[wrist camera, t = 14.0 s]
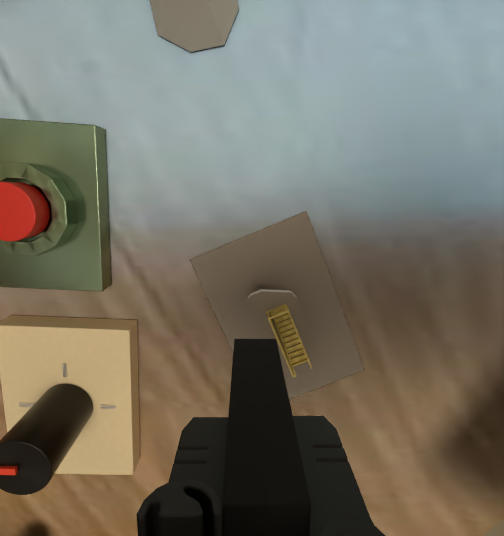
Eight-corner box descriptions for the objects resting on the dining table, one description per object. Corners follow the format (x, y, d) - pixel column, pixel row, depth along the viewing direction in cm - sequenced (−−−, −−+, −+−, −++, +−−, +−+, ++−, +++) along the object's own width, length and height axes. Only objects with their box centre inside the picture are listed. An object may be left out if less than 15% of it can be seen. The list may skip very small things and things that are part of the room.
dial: (92, 384, 32) (47, 445, 24) (94, 427, 33) (51, 499, 25) (39, 382, 32) (-23, 443, 24) (44, 426, 33) (-15, 498, 25)
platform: (306, 210, 31) (323, 216, 25) (365, 369, 36) (392, 409, 29) (189, 259, 32) (177, 277, 26) (260, 410, 36) (265, 457, 30)
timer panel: (140, 456, 37) (132, 476, 34) (27, 454, 36) (11, 474, 34) (137, 319, 33) (128, 331, 31) (11, 314, 33) (-8, 325, 30)
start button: (52, 239, 28) (37, 243, 26) (-4, 236, 27) (-23, 240, 25) (48, 183, 27) (32, 183, 25) (-10, 180, 26) (-31, 179, 24)
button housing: (111, 284, 32) (94, 298, 28) (-8, 279, 32) (-42, 292, 28) (105, 129, 29) (85, 120, 25) (-27, 120, 29) (-69, 109, 25)
